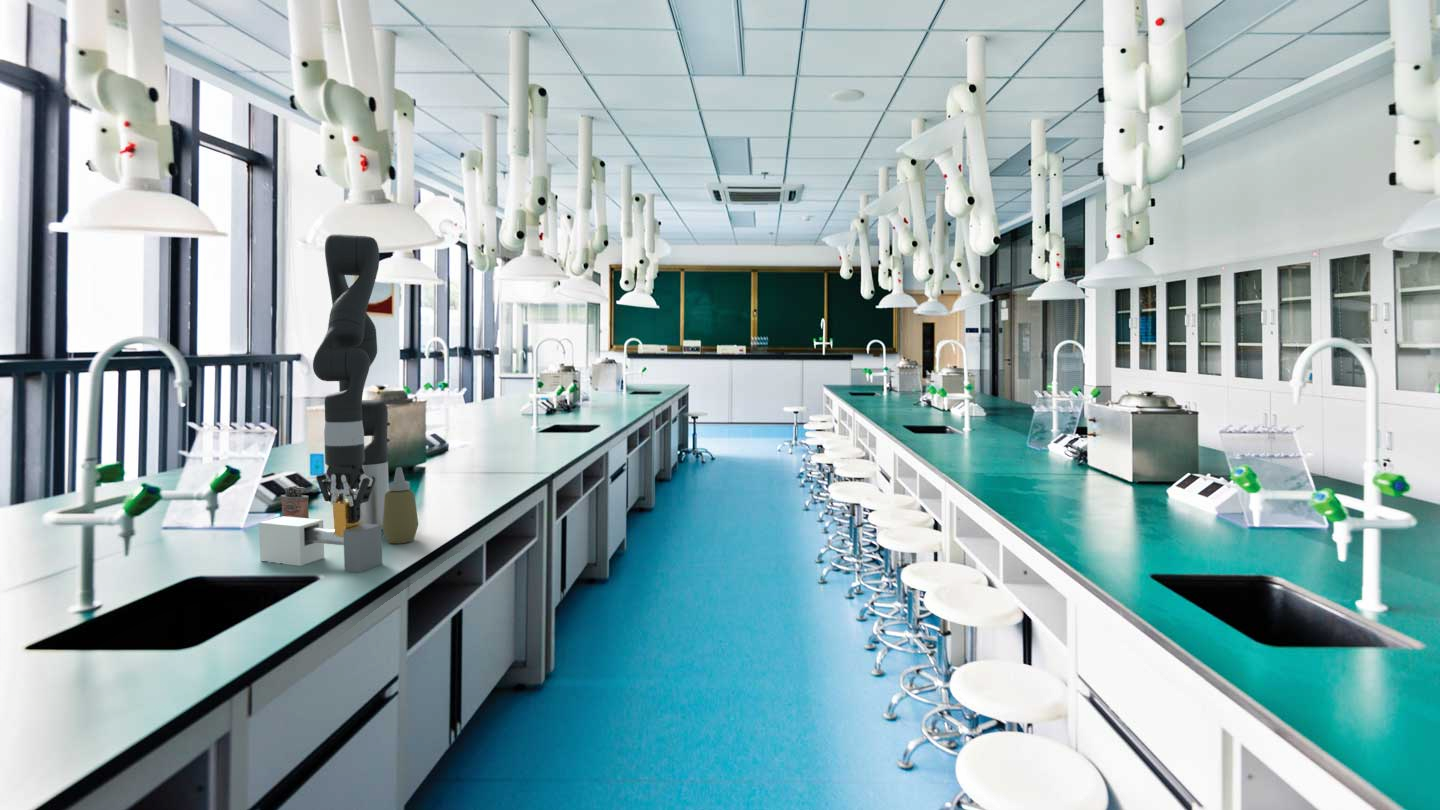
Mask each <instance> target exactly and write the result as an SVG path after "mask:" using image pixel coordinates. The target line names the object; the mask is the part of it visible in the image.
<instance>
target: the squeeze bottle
mask: <svg viewBox="0 0 1440 810" xmlns="http://www.w3.org/2000/svg"><path fill="white" fill-rule="evenodd" d="M388 483H389V490H390V491H389V492H387V493H386V494H385V500H384V512H383V525H382V529H383V530H382V531H383V534H384V537H385V538H386V541H387V543H389V544H395V543H396V545H398V544H407V543H410V542H412V541H414V540H415V537H416V533H417V530H418V528H419V519H418V511H417V505H416V504H417V503H416V496H415V495H416V494H415V492H414V491H413V490H411V489H410V488H411V482H410V481H408V480H405V474H404V472H403V468H402V467H400V466H399V467H395V473H394V477H393V481H391V482H388Z"/></svg>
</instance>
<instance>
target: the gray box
mask: <svg viewBox="0 0 1440 810" xmlns="http://www.w3.org/2000/svg"><path fill="white" fill-rule="evenodd" d="M343 534H344V545H343V558H344V559H343V560H344V561H343V564H344V571H345V572H350V573H351V572H352V573H362V572H365V571H369V570H370V569H374V568H375V567H378V566H380V565H383V546H382V545H383V543H382V535H383V534H382V530H381V525H376V524H363V525H360V526H357V527H353V528H350V529H347V530H344V531H343Z"/></svg>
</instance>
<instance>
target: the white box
mask: <svg viewBox="0 0 1440 810" xmlns="http://www.w3.org/2000/svg"><path fill="white" fill-rule="evenodd" d="M305 527H315V528H324V520H323V519H318V518H310V517H309V518H298V517H287V516H279V517H275V518H272V519H267V520H263V521H259V522H258V537H259V538H258V539H259V559H260V560H259V561H260V562H262V561H268V562H267V563H271V562H276V563H275V564H280V563H283V565H291V566H299V567H301V566H305V565H307V564H309V563H314V562H316V561H320V560H322V559H324V558H325V544H324V543H314V542H304V528H305Z"/></svg>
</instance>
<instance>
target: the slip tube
mask: <svg viewBox="0 0 1440 810" xmlns="http://www.w3.org/2000/svg"><path fill="white" fill-rule="evenodd" d="M333 506H334V516H333V525H334V526H333V528H325V527H323V528H315V527H305V528H304V542H314V543H324V545H325V544H326V545H333V546H334V545H335V546H344V534H343V531H344V530H347V529H350V528H353V527H357V526H360V520H359V521H358V522H356V523H349V509H348V507H349V503H348V498H347V499H344V500H343V501H339V502H335V503H333V505H332V507H333Z"/></svg>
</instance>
